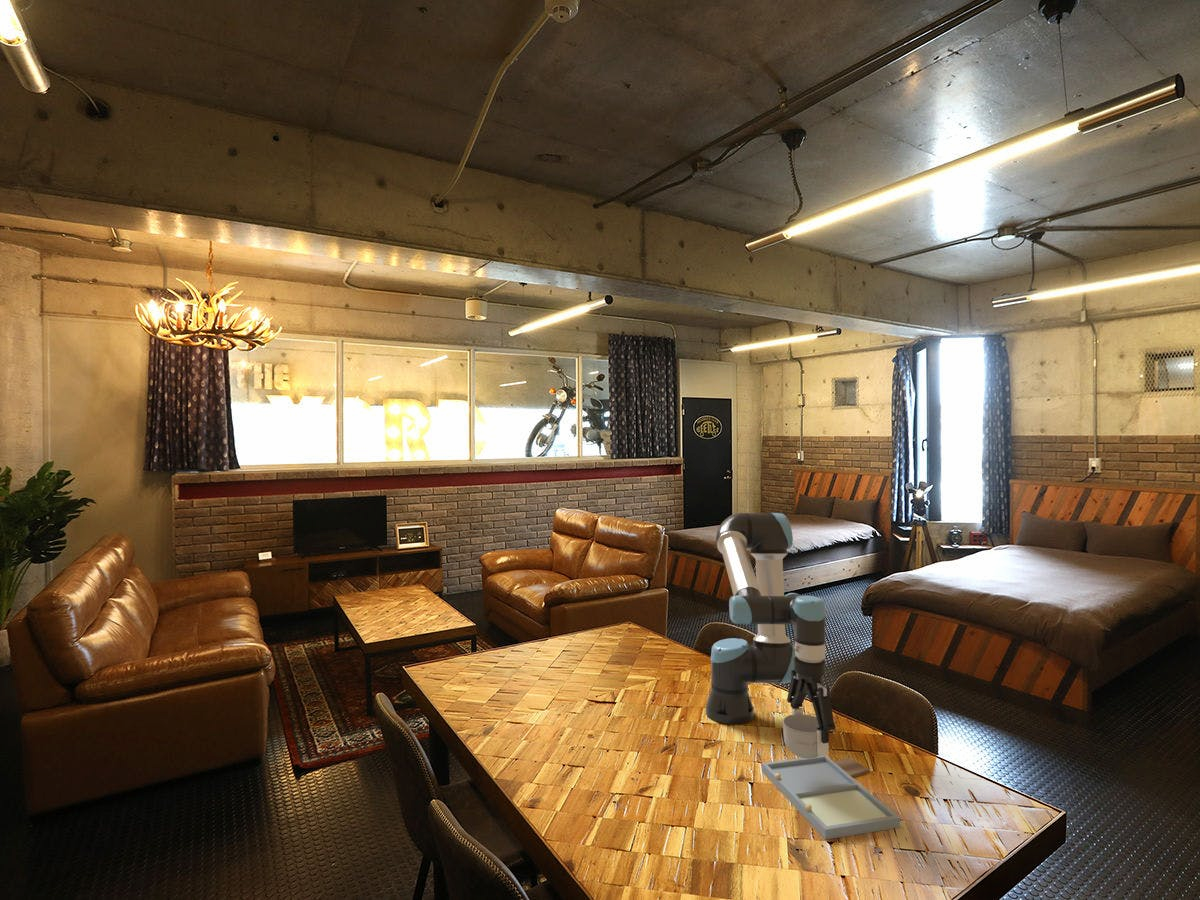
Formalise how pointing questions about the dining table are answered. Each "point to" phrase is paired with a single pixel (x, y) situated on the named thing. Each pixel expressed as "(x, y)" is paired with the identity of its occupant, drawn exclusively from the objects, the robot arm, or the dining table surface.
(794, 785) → the grey divided tray
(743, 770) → the dining table surface
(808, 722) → the teacup
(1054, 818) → the dining table surface
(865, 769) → the walnut coaster
